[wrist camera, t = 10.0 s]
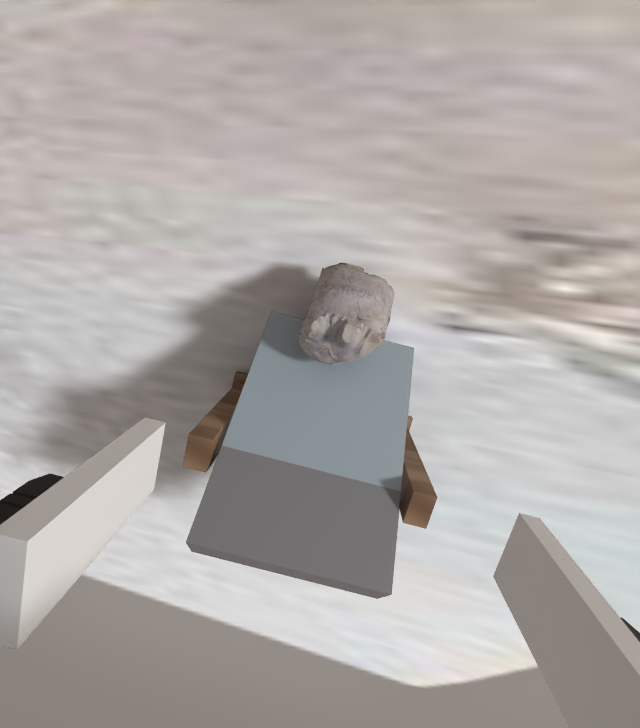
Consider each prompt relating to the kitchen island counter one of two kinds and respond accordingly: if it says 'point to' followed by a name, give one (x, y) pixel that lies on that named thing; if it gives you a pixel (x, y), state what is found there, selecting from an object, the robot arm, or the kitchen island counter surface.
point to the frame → (215, 424)
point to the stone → (346, 315)
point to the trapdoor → (311, 466)
